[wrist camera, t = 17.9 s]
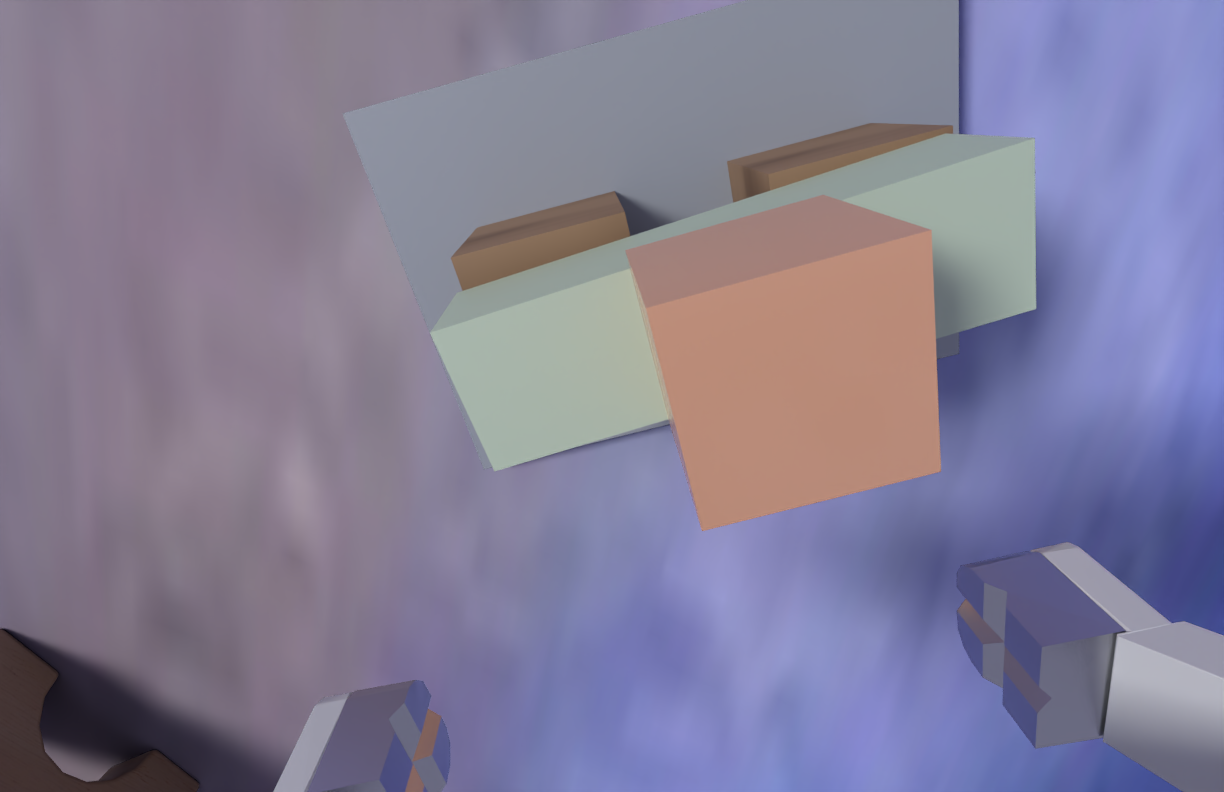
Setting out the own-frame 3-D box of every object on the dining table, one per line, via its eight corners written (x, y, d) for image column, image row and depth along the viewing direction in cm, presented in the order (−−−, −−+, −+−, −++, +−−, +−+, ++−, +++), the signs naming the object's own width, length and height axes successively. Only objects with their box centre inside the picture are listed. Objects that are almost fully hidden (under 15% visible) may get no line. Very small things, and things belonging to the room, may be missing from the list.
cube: (843, 376, 15) (940, 471, 11) (669, 421, 16) (701, 531, 11) (822, 194, 13) (931, 230, 9) (625, 250, 14) (645, 308, 10)
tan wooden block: (878, 264, 23) (953, 302, 18) (747, 297, 23) (790, 342, 19) (870, 122, 21) (953, 125, 16) (726, 161, 21) (768, 174, 16)
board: (943, 343, 26) (959, 353, 25) (487, 455, 27) (483, 469, 26) (937, -50, 20) (958, -59, 19) (354, 113, 21) (342, 113, 20)
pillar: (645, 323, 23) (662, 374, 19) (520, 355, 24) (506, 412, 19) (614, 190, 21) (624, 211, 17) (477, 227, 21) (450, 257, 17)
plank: (954, 274, 18) (1036, 308, 15) (508, 411, 19) (494, 471, 16) (945, 133, 16) (1034, 138, 13) (456, 293, 17) (429, 333, 14)
